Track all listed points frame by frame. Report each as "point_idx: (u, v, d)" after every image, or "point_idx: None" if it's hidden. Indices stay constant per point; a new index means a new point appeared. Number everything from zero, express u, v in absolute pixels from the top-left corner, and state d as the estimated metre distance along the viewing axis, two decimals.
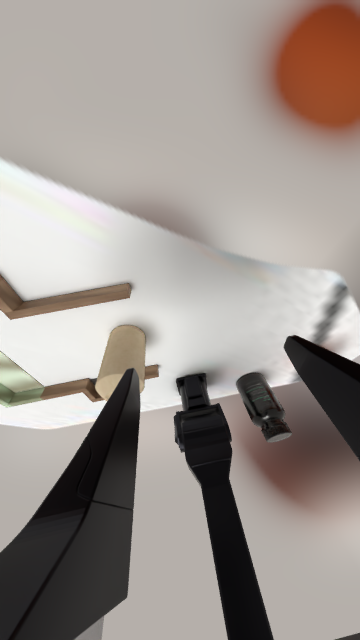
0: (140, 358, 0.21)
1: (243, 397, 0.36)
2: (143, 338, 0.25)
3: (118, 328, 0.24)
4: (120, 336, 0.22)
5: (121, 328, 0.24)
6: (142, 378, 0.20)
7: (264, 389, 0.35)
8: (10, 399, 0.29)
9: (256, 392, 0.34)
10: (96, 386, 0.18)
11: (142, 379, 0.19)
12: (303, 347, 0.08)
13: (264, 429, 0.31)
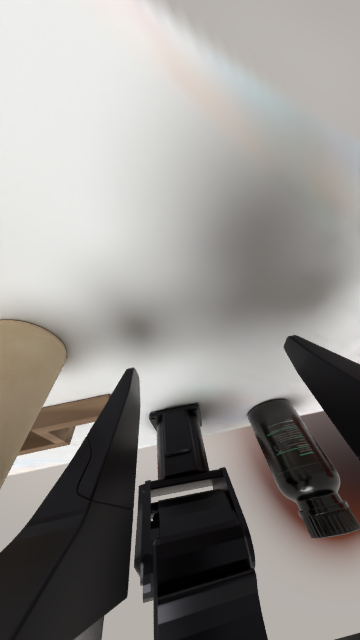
0: None
1: (261, 441, 0.22)
2: (47, 350, 0.11)
3: None
4: None
5: None
6: None
7: (298, 431, 0.20)
8: None
9: (285, 437, 0.20)
10: None
11: None
12: (303, 347, 0.08)
13: (306, 514, 0.17)
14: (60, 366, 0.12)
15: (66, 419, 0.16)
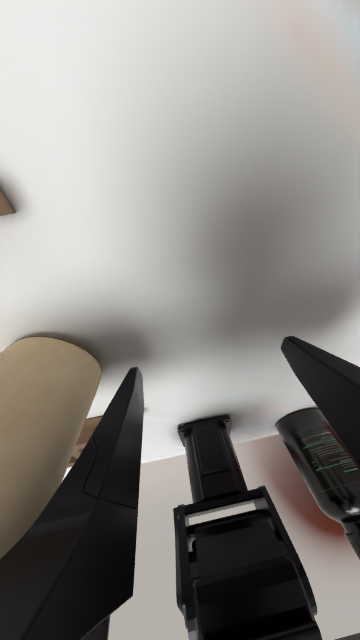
0: (16, 479, 0.05)
1: (296, 454, 0.21)
2: (84, 376, 0.09)
3: (13, 345, 0.09)
4: None
5: (18, 346, 0.08)
6: None
7: (338, 445, 0.19)
8: None
9: (324, 451, 0.19)
10: None
11: None
12: (300, 348, 0.08)
13: (356, 538, 0.15)
14: (95, 391, 0.10)
15: None
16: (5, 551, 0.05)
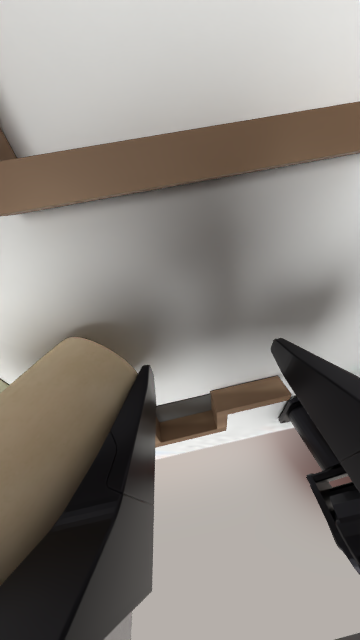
0: (23, 534, 0.04)
1: None
2: (123, 396, 0.08)
3: (65, 343, 0.08)
4: (35, 378, 0.07)
5: (68, 347, 0.08)
6: None
7: None
8: None
9: None
10: None
11: None
12: (288, 350, 0.08)
13: None
14: None
15: (251, 400, 0.15)
16: None
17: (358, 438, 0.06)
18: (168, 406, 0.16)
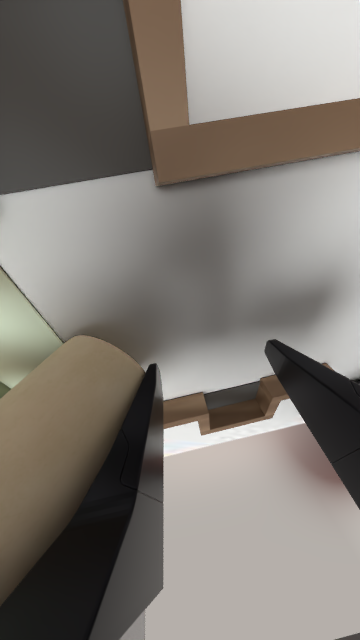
0: (38, 531, 0.04)
1: None
2: (131, 395, 0.08)
3: (73, 342, 0.08)
4: (45, 376, 0.07)
5: (76, 345, 0.08)
6: None
7: None
8: None
9: None
10: None
11: None
12: (281, 352, 0.08)
13: None
14: None
15: None
16: None
17: (348, 440, 0.06)
18: (218, 393, 0.17)
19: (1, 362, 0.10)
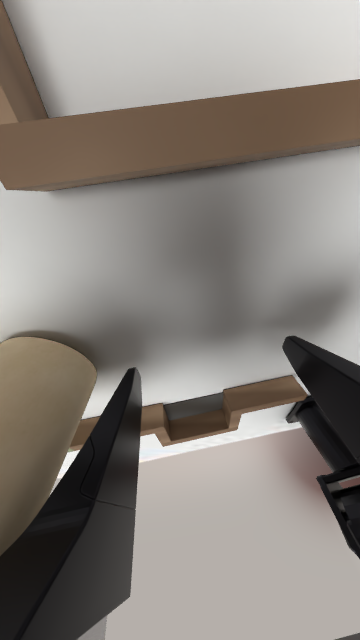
0: None
1: None
2: (77, 380, 0.08)
3: (1, 345, 0.08)
4: None
5: (7, 347, 0.08)
6: None
7: None
8: None
9: None
10: None
11: None
12: (301, 347, 0.08)
13: None
14: (89, 395, 0.10)
15: (266, 400, 0.15)
16: None
17: None
18: (179, 404, 0.16)
19: None
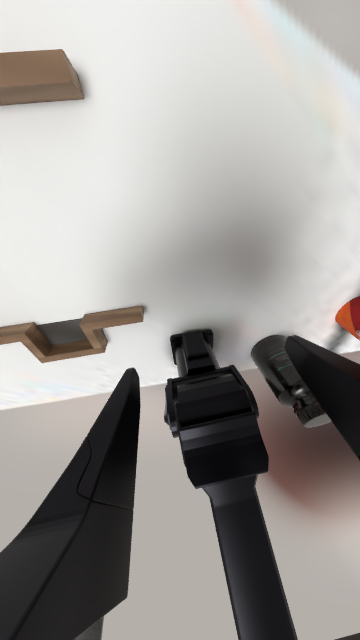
0: None
1: (263, 367, 0.26)
2: None
3: None
4: None
5: None
6: None
7: None
8: None
9: (284, 357, 0.24)
10: None
11: None
12: (303, 347, 0.08)
13: (300, 407, 0.21)
14: None
15: (109, 318, 0.19)
16: None
17: None
18: (51, 325, 0.20)
19: None
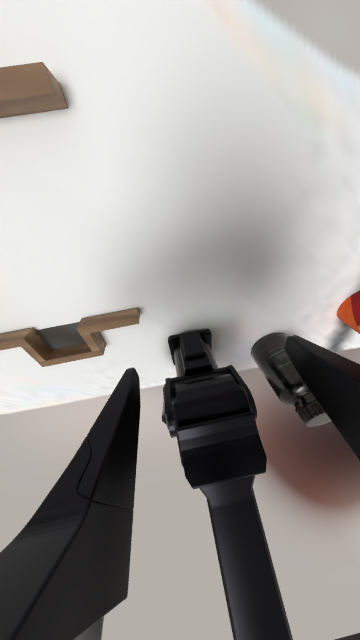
0: None
1: (264, 365, 0.26)
2: None
3: None
4: None
5: None
6: None
7: None
8: None
9: (284, 355, 0.24)
10: None
11: None
12: (303, 347, 0.08)
13: (301, 406, 0.20)
14: None
15: (105, 321, 0.19)
16: None
17: None
18: (50, 330, 0.21)
19: None
